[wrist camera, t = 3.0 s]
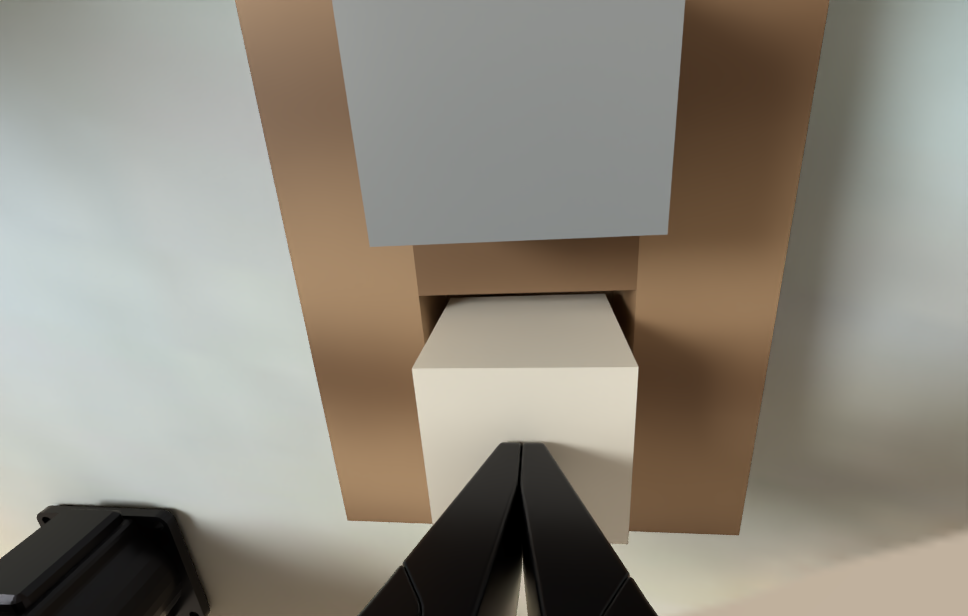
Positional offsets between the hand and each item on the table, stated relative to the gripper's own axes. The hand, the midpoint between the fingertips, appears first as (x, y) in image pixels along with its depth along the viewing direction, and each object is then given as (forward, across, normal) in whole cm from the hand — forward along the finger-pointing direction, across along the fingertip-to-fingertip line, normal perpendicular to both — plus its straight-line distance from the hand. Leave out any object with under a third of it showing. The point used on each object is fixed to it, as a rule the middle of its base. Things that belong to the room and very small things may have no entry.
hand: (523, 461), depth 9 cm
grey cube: (+3, 0, -6) cm, 7 cm away
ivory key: (+4, 0, 0) cm, 4 cm away
